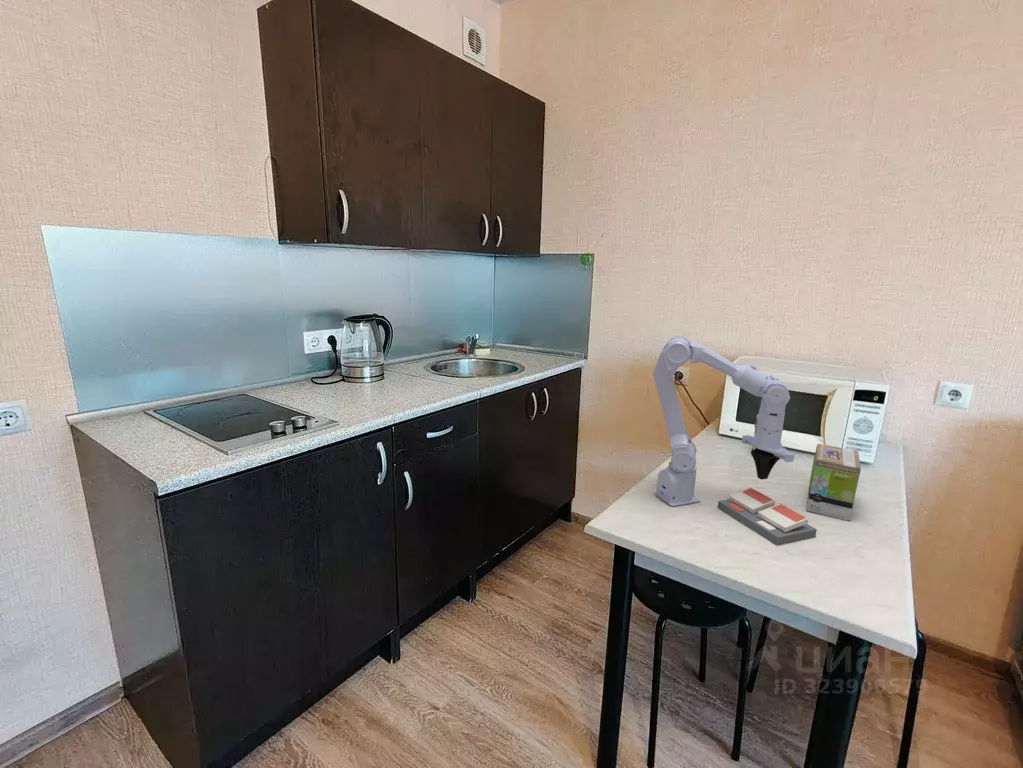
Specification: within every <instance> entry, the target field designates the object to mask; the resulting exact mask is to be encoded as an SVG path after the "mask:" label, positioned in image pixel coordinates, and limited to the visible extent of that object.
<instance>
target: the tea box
mask: <svg viewBox="0 0 1023 768" xmlns="http://www.w3.org/2000/svg"><path fill="white" fill-rule="evenodd" d="M861 470H862V469H861V460H860V455H859V450H855V449H849V448H844V447H838V446H833V445H828V444H822V443H817V444H816V447H815V453H814V457H813V462H812V465H811V472H810V478H809V483H808V484H809V485H808V492H807V502H806V511H807V512H810V513H811V512H812V513H814V514H819V515H822V516H827V517H831V518H835V519H839V520H845V521H847V522H849V521H850V520H851V516H852V512H853V508H854V504H855V503H854V502H855V498H856V493H857V489H858V484H859V479H860V475H861Z"/></svg>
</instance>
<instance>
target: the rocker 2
mask: <svg viewBox="0 0 1023 768" xmlns="http://www.w3.org/2000/svg"><path fill="white" fill-rule="evenodd" d="M758 517H760V518H762V519H763V520H765V521H767V522H769V523H770V524H772V525H774V526H775V527H777V528H779V529H780V530H782V531H784V532H787V531H790V530H792V529H795V528H797V527H800V526H802V525H805V524H809V518H807V517H806V516H803V515H802V514H800V513H798V512H797V511H795V510H793V509H791V508H789V507H787V506H785V505H783V504H781V503H777V504H775V505H774V506H772V507H770V508H767V509H764V510H762V511H759V512H758Z"/></svg>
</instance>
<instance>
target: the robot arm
mask: <svg viewBox="0 0 1023 768" xmlns="http://www.w3.org/2000/svg"><path fill="white" fill-rule="evenodd" d="M688 361H690V364H692V365H693V364H700V363H701V364H702V363H703V364H705V365H707V366H709V367H711V368H713V369H715V370H717V371H718V372H721V373H723V374H724V375H727V376H728V377H731V380H732V381H731V382H732V384H733V385H735V386H737V387H739V388H740V389H742V390H744V391H745V392H748V393H750V394H751V395H753V396H755V397H760V398H761V399H762V398H763V399H762V400H761V399H760V404H761V407H759V408H758V409H759V411H758V413H759V416H758V423H757V430H756V437H754V436H752V435H749V434H746V435H742V437H741V443H742V444H747V445H750V446H754V447H756V448H755V450H752V449H751V451H750V454H751V457H752V458H753V461H754V465H755V469H756V476H757V478H758V479H759V480H767V479H768V478H769V476H770V473H771V471H772V469H773V468H774V467H775V464H776V463H777V462H778V461H779V460H780V459H782V460H783V461H784V462H786V463H791V462H794V459H795V453H794V452H791V451H789V450H788V449H787V448H785V447H783V446H782V445H783V444H782V443H781V441H782V435H783V431H784V421H785V415H786V412H785V411H786V407H787V406H786V405H787V404H788V403H789V401H790V400H791V396H790V392H789V389H788V387H786V385H785V383H784V382H782V381H780V379H779V378H775V376H774V375H771V374H770V375H767V374H765V373H763V372H761V371H760V370H758V368H757V366H756V365H754V364H750V365H748V364H740V365H739V364H738V365H737V364H736V363H734V362H732V361H731V360H729V359H727V358H725V357H724V356H722V355H720V354H718V353H717V352H715V351H714V350H711V349H710V348H708V347H707V346H705V345H702V344H700V343H698V342H696V341H693V340H689V339H688V338H686V337H684V336H680V335H677V336H674V337H672V338H670V339H669V340H668V342H667V343H666V344H665V345H664V346H663V348H662V350H661V352H660V354H659V357H658V359H657V362H656V364H655V367H654V369H653V372H652V377H653V380H654V384H655V387H656V392H657V395H658V400H659V403H660V407H661V410H662V413H663V418H664V421H665V425H666V428H667V432H668V433H667V434H668V435H669V443H670V449H671V456H670V461H669V462H668V466H667V467H665V468H663V469H661V470H660V471H659V472H658V475H657V484H656V490H655V491H656V492H654V495H655V496H657V497H658V498H659V499H661V500H662V501H664V502H665V503H666V504H667V505H669V506H670V507H677V506H683V505H684V506H685V505H688V504H689V505H690V504H694V503H700V502H701V499H700V498H698V497H697V496H696V495H695V487H696V479H697V471H698V470H697V469H698V468H697V466H696V465H697V458H696V456H697V455H696V454H697V447H696V445H695V443H694V442H693V441H692V440H691V438H690V435H689V432H688V430H687V426H686V423H685V419H684V416H683V411H682V408H681V404H680V400H679V397H678V393H677V390H676V389H677V387H676V386H675V381H674V375H675V374H676V372H677V371H678V369H679V368H681V367H682V366H683V365H686V363H687V362H688ZM782 430H783V431H782Z"/></svg>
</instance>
